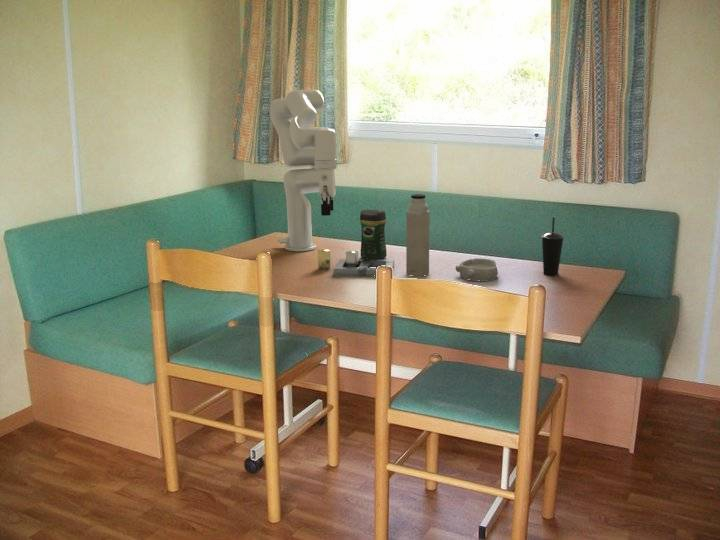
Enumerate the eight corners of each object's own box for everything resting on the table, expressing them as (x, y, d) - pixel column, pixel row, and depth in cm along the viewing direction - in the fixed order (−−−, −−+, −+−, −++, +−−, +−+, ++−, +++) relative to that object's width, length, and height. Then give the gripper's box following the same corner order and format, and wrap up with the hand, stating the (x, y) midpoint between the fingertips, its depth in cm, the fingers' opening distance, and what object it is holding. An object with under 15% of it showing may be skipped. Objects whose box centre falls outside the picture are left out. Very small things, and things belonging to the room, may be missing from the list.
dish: (490, 270, 275) (490, 256, 273) (505, 280, 262) (506, 266, 260) (451, 273, 272) (451, 259, 270) (465, 284, 259) (465, 269, 257)
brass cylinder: (317, 270, 278) (316, 251, 276) (319, 267, 282) (318, 248, 280) (329, 270, 277) (328, 251, 275) (331, 267, 281) (330, 248, 279)
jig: (333, 275, 270) (333, 268, 269) (340, 265, 284) (339, 258, 283) (390, 277, 268) (390, 270, 267) (394, 266, 281) (394, 259, 280)
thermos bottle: (401, 273, 271) (401, 195, 264) (416, 269, 277) (417, 192, 269) (418, 278, 266) (419, 197, 258) (433, 273, 271) (434, 194, 264)
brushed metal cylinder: (345, 272, 274) (344, 253, 272) (347, 269, 279) (346, 250, 277) (357, 272, 274) (357, 253, 272) (359, 269, 278) (358, 250, 276)
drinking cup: (549, 278, 263) (552, 220, 258) (534, 273, 270) (537, 216, 264) (566, 275, 267) (570, 218, 261) (551, 270, 273) (554, 214, 268)
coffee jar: (389, 257, 294) (389, 209, 289) (379, 261, 288) (378, 212, 283) (368, 254, 299) (367, 206, 294) (357, 258, 293) (356, 210, 288)
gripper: (334, 167, 262) (335, 217, 266) (338, 161, 278) (340, 208, 283) (312, 167, 262) (314, 217, 266) (318, 162, 279) (319, 208, 283)
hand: (327, 212), depth 274 cm, fingers open, 9 cm apart
